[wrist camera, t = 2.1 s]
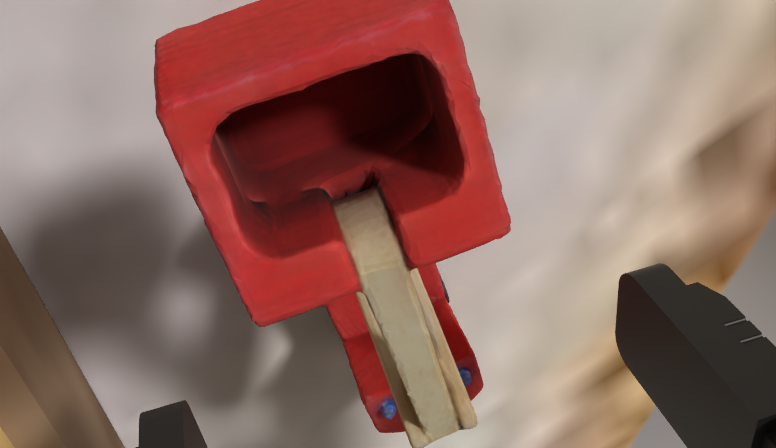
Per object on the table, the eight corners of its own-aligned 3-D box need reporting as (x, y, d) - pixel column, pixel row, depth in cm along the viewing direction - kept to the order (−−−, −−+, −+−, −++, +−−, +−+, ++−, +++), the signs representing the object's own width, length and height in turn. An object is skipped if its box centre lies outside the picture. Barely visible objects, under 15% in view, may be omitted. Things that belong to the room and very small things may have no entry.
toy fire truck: (349, 350, 23) (452, 675, 15) (142, -96, 14) (143, 131, 7) (448, 310, 23) (599, 611, 15) (301, -155, 15) (477, 3, 7)
